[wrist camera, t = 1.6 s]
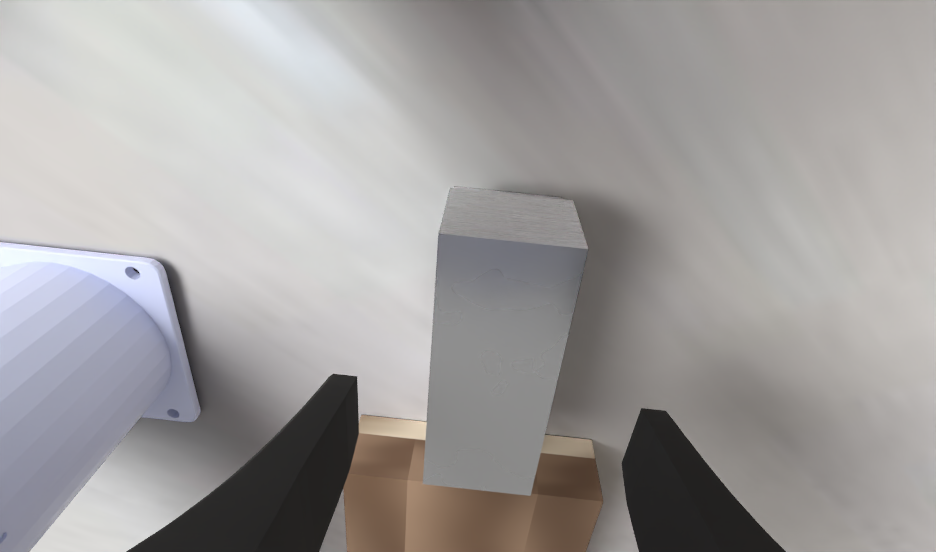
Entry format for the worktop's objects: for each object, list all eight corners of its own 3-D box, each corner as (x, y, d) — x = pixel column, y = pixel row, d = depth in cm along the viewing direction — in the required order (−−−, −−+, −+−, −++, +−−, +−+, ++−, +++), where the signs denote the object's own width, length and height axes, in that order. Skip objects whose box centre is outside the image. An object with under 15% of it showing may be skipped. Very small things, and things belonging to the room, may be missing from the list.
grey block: (439, 378, 21) (422, 484, 16) (456, 165, 16) (438, 232, 12) (524, 387, 21) (530, 495, 16) (565, 176, 16) (588, 249, 12)
